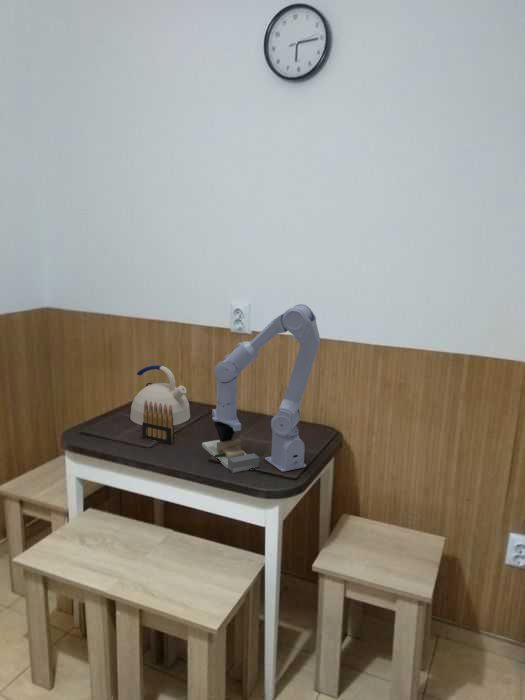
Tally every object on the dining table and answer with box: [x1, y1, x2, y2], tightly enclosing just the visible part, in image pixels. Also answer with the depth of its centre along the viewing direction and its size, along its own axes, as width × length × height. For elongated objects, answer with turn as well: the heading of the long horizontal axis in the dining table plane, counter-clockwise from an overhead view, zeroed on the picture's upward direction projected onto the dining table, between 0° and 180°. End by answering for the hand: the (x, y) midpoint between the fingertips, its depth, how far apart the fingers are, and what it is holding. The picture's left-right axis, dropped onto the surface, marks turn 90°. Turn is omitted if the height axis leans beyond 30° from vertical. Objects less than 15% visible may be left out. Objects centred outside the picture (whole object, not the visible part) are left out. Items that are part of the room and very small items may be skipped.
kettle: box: [129, 365, 191, 426], centre depth 182 cm, size 20×21×18 cm
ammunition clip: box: [141, 400, 176, 446], centre depth 161 cm, size 11×2×12 cm, turn 65°
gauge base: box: [201, 439, 260, 474], centre depth 152 cm, size 20×8×3 cm, turn 30°
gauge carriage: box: [214, 438, 245, 458], centre depth 150 cm, size 5×9×3 cm, turn 120°
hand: (225, 446), depth 154 cm, fingers closed
